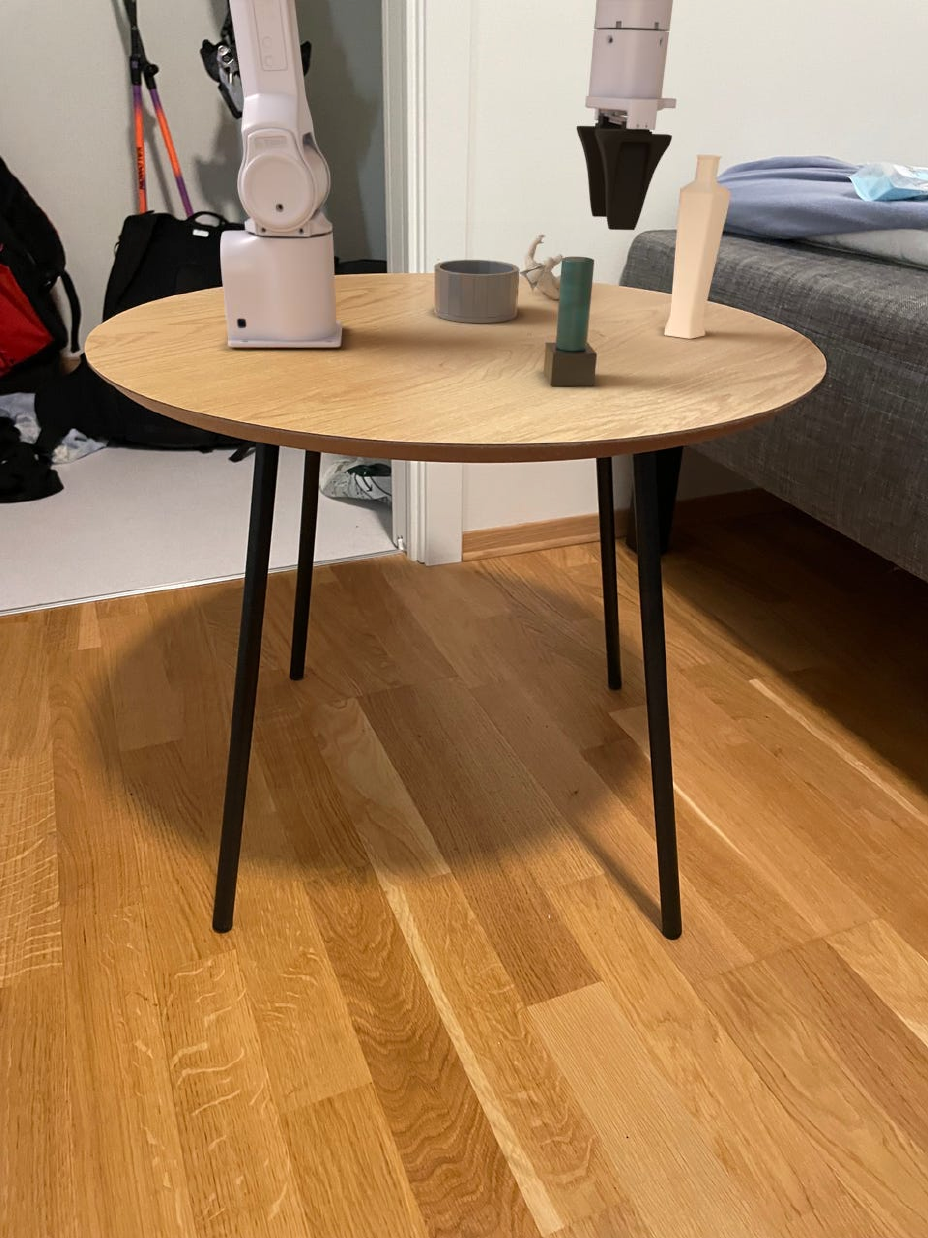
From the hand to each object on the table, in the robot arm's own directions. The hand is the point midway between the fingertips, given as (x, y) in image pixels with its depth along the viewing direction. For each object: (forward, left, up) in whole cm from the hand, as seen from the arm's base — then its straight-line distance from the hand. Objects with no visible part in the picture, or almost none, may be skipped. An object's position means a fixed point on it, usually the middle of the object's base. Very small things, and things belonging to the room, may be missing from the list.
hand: (612, 222), depth 78 cm
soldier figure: (-1, +22, -10) cm, 24 cm away
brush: (-5, -11, -10) cm, 16 cm away
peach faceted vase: (+9, +4, -10) cm, 14 cm away
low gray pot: (-10, +12, -10) cm, 19 cm away
